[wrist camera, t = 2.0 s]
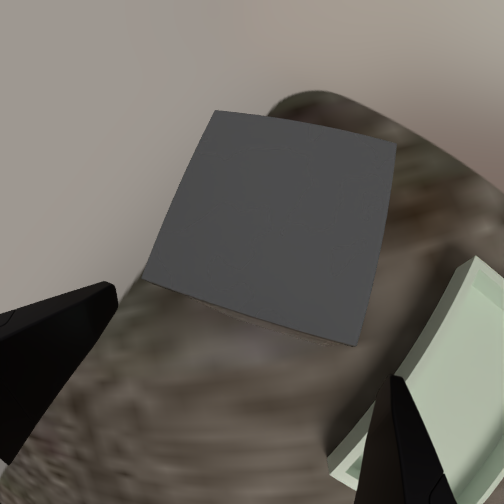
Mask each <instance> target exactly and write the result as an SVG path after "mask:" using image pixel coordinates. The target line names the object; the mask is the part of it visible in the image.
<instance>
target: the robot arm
mask: <svg viewBox="0 0 504 504" xmlns="http://www.w3.org/2000/svg"><path fill="white" fill-rule="evenodd" d="M117 308H118V299H117V293H116V288H115V286H114V285H113V284H111V283H108V282H106V281H103V282H100V283H96V284H93V285H90V286H87V287H83V288H80V289H77V290H74V291H71V292H68V293H64V294H61V295H58V296H55V297H52V298H49V299H46V300H43V301H39V302H36V303H33V304H30V305H27V306H24V307H21V308H17V309H15V310H11V311H8V312H5V313H2V314H0V459H2V460H3V461H4V462H5V463H6V464H7V465H10V464H11V463H12V461H13V460H14V458H15V457H16V455H17V453H18V452H19V450H20V449H21V447H22V446H23V444H24V443H25V441H26V440H27V438H28V437H29V435H30V434H31V432H32V431H33V429H34V428H35V425H37V423H38V422H39V420H40V419H41V417H42V416H43V414H44V413H45V412H46V410H47V409H48V407H49V406H50V404H51V403H52V402H53V400H54V399H55V397H56V396H57V395H58V393H59V392H60V390H61V389H62V388H63V386H64V385H65V384H66V382H67V381H68V380H69V378H70V377H71V375H72V374H73V373H74V371H75V370H76V369H77V367H78V366H79V365H80V363H81V362H82V361H83V359H84V358H85V357H86V355H87V354H88V353H89V352H90V350H91V349H92V348H93V346H94V345H95V344H96V342H97V341H98V339H99V338H100V336H101V334H102V333H103V331H104V329H105V328H106V326H107V325H108V323H109V322H110V320H111V318H112V317H113V315H114V314H115V312H116V310H117ZM443 473H444V470H443V468H442V465H441V463H440V460H439V458H438V455H437V453H436V450H435V448H434V445H433V443H432V441H431V438H430V436H429V434H428V431H427V429H426V427H425V424H424V422H423V420H422V417H421V415H420V413H419V411H418V409H417V406H416V404H415V402H414V400H413V398H412V395H411V393H410V391H409V389H408V387H407V385H406V383H405V381H404V379H403V377H401V376H397V375H392V374H390V375H389V376H388V377H387V378H386V380H385V382H384V383H383V385H382V386H381V388H380V390H379V391H378V394H377V396H376V400H375V405H374V409H373V413H372V417H371V422H370V425H369V429H368V433H367V437H366V441H365V446H364V452H363V458H362V464H361V470H360V476H359V481H358V486H357V491H356V496H355V501H354V504H457V502H456V500H455V498H454V495H453V493H452V490H451V488H450V485H449V483H448V480H447V478H446V475H445V474H443ZM0 504H1V503H0Z"/></svg>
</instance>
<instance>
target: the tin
mask: <svg viewBox="0 0 504 504" xmlns="http://www.w3.org/2000/svg"><path fill="white" fill-rule="evenodd" d="M396 146H397V144H396V143H392V142H389V141H385V140H381V139H377V138H373V137H369V136H365V135H361V134H357V133H353V132H348V131H344V130H339V129H335V128H330V127H325V126H320V125H315V124H310V123H304V122H299V121H293V120H287V119H281V118H274V117H267V116H260V115H253V114H245V113H237V112H227V111H218V110H215V111H214V113H213V115H212V117H211V119H210V121H209V123H208V125H207V127H206V130H205V131H204V133H203V135H202V137H201V139H200V141H199V144H198V146H197V148H196V150H195V152H194V154H193V156H192V158H191V160H190V163H189V165H188V167H187V169H186V171H185V174H184V176H183V178H182V180H181V182H180V184H179V187H178V189H177V191H176V194H175V196H174V198H173V200H172V203H171V205H170V208H169V210H168V212H167V215H166V217H165V219H164V222H163V224H162V227H161V229H160V231H159V234H158V236H157V239H156V241H155V244H154V246H153V249H152V252H151V254H150V257H149V259H148V262H147V264H146V267H145V270H144V272H143V275H142V279H144V280H146V281H148V282H150V283H152V284H154V285H157V286H160V287H163V288H165V289H168V290H171V291H174V292H177V293H179V294H182V295H185V296H187V297H189V298H191V299H193V300H195V301H197V302H199V303H202V304H204V305H206V306H208V307H210V308H212V309H215V310H217V311H219V312H221V313H223V314H226V315H228V316H230V317H232V318H234V319H237V320H240V321H243V322H246V323H250V324H253V325H256V326H259V327H262V328H265V329H269V330H272V331H275V332H278V333H282V334H285V335H288V336H292V337H295V338H298V339H302V340H305V341H309V342H312V343H316V344H319V345H323V346H332V345H338V344H344V345H347V346H351V347H355V346H357V342H358V339H359V335H360V332H361V328H362V325H363V321H364V317H365V314H366V310H367V306H368V302H369V298H370V294H371V290H372V286H373V281H374V277H375V273H376V268H377V264H378V259H379V254H380V249H381V244H382V239H383V234H384V229H385V223H386V217H387V211H388V205H389V199H390V193H391V186H392V179H393V171H394V164H395V155H396Z"/></svg>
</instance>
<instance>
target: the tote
mask: <svg viewBox="0 0 504 504" xmlns="http://www.w3.org/2000/svg"><path fill="white" fill-rule="evenodd" d="M394 375H397V376H401V377H403V379H404V381H405V383H406V385H407V387H408V389H409V391H410V393H411V395H412V398H413V400H414V402H415V404H416V406H417V409H418V411H419V413H420V415H421V417H422V420H423V422H424V424H425V427H426V429H427V431H428V434H429V436H430V438H431V441H432V443H433V445H434V448H435V450H436V453H437V455H438V458H439V460H440V463H441V465H442V468H443V470H444V473H443V474H445V475H446V478H447V480H448V483H449V485H450V488H451V490H452V493H453V495H454V498H455V500H456V502H457V504H483V503H484V502H485V501H486V499H487V498H488V497H489V496H490V494H491V493H492V492H493V490H494V489H495V488H496V486H497V485H498V484H499V482H500V481H501V480H502V478H503V477H504V278H502V277H501V276H500V275H499V274H498V273H497V272H495V271H494V270H493V269H492V268H491V267H489V266H488V265H487V264H486V263H484V262H483V261H482V260H481V259H480V258H478V257H477V256H474V257H473V258H471V259H470V260H468V261H467V262H465V263H464V264H462V265H460V266H459V267H457V268H456V270H455V272H454V274H453V276H452V278H451V280H450V282H449V284H448V286H447V288H446V290H445V292H444V294H443V295H442V297H441V299H440V301H439V303H438V305H437V306H436V308H435V310H434V312H433V314H432V315H431V317H430V319H429V320H428V322H427V324H426V326H425V327H424V329H423V331H422V332H421V334H420V336H419V337H418V339H417V340H416V342H415V344H414V345H413V347H412V348H411V350H410V351H409V353H408V354H407V356H406V358H405V359H404V361H403V362H402V364H401V365H400V366H399V368H398V369H397V371H396V372H395V374H394ZM374 405H375V401H374V403H373V404H372V405H371V406H370V408H369V409H368V410H367V412H366V413H365V414H364V415H363V417H362V418H361V419H360V420H359V422H358V423H357V424H356V425H355V426H354V428H353V429H352V430H351V431H350V432H349V434H348V435H347V436H346V437H345V438H344V439H343V441H342V442H341V443H340V444H339V445H338V446H337V447H336V449H335V450H334V451H333V452H332V453H331V454H330V455H329V456H328V457H327V462H328V468H329V475H331V476H332V477H334V478H336V479H337V480H339V481H341V482H342V483H344V484H346V485H347V486H349V487H351V488H352V489H354V490H356V491H357V486H358V481H359V476H360V470H361V464H362V458H363V452H364V446H365V441H366V437H367V433H368V429H369V425H370V422H371V417H372V413H373V409H374Z"/></svg>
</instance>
